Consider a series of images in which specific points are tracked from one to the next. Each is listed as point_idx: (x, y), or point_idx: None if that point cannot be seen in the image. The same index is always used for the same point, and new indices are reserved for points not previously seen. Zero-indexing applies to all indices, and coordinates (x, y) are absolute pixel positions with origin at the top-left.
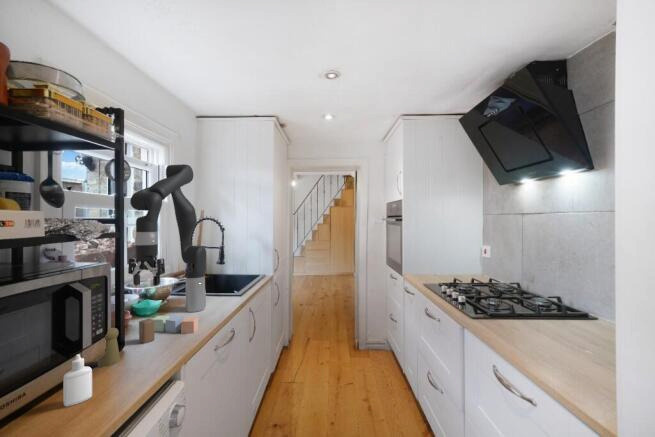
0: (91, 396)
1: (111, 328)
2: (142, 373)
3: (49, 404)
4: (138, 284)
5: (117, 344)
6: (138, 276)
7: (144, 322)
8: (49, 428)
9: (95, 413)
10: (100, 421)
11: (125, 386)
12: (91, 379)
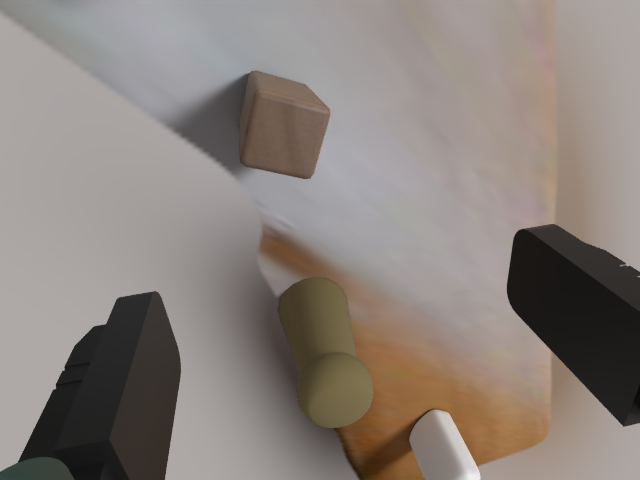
0: (448, 413)
1: (346, 403)
2: (488, 310)
3: (377, 450)
4: (165, 316)
5: (345, 330)
6: (136, 450)
7: (307, 174)
8: None
9: (501, 427)
10: (529, 432)
11: (489, 362)
12: (468, 450)
